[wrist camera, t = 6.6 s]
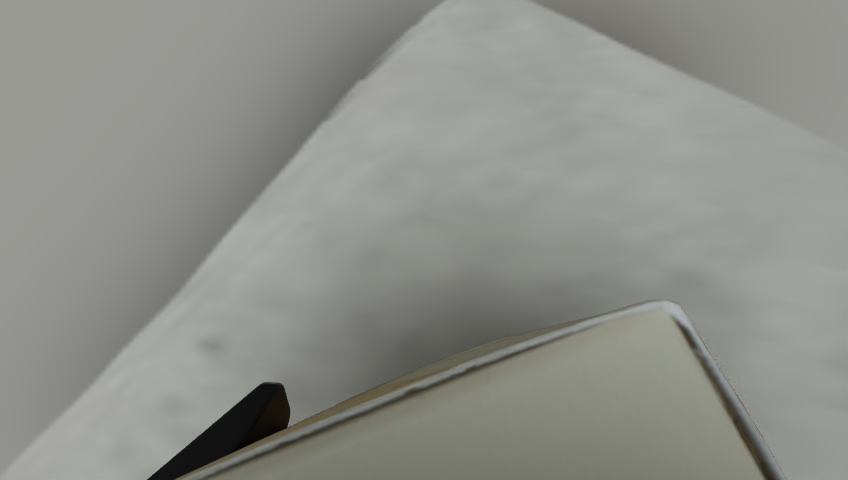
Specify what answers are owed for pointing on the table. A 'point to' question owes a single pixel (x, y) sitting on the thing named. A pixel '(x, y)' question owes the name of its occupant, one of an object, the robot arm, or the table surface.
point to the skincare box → (534, 414)
